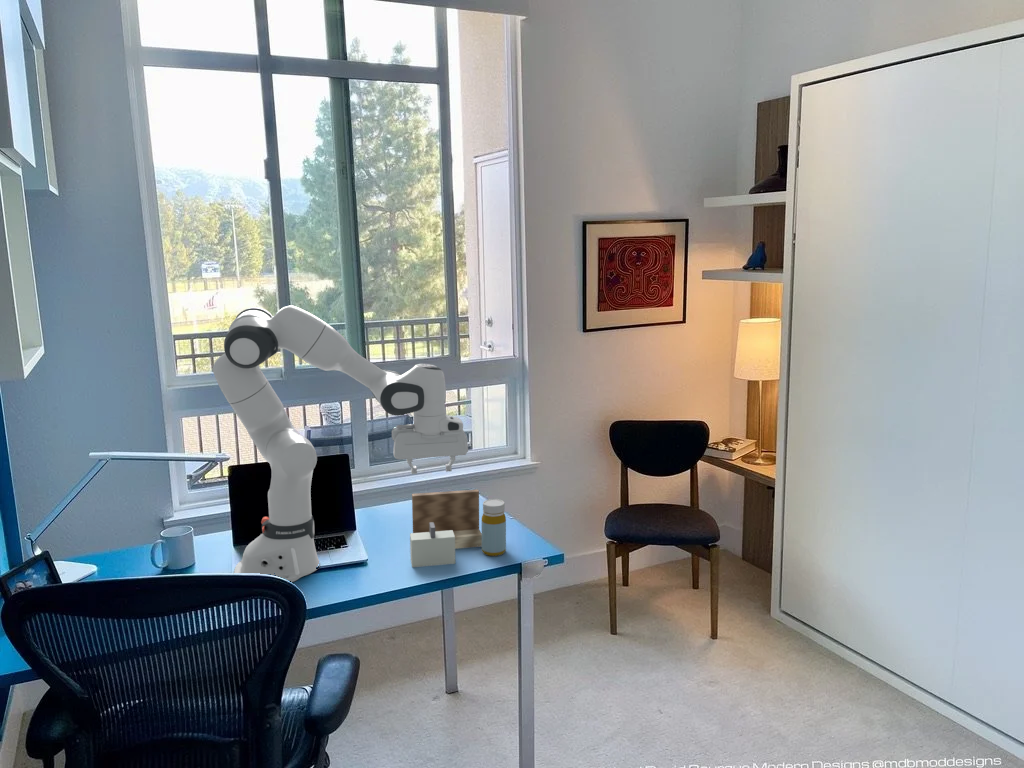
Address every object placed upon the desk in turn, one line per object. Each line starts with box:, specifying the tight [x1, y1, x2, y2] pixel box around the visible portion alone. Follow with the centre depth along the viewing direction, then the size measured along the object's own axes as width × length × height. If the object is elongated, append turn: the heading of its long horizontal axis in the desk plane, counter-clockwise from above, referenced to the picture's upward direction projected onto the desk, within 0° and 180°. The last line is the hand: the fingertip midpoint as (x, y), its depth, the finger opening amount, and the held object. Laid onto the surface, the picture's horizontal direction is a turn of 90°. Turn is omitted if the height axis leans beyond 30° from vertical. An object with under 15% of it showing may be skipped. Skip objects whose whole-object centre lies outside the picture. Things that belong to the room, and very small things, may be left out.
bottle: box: [481, 498, 507, 557], centre depth 218 cm, size 7×7×15 cm
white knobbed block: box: [409, 522, 456, 568], centre depth 212 cm, size 12×5×11 cm, turn 102°
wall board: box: [411, 488, 482, 550], centre depth 225 cm, size 20×10×14 cm, turn 102°
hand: (431, 472), depth 207 cm, fingers open, 8 cm apart
